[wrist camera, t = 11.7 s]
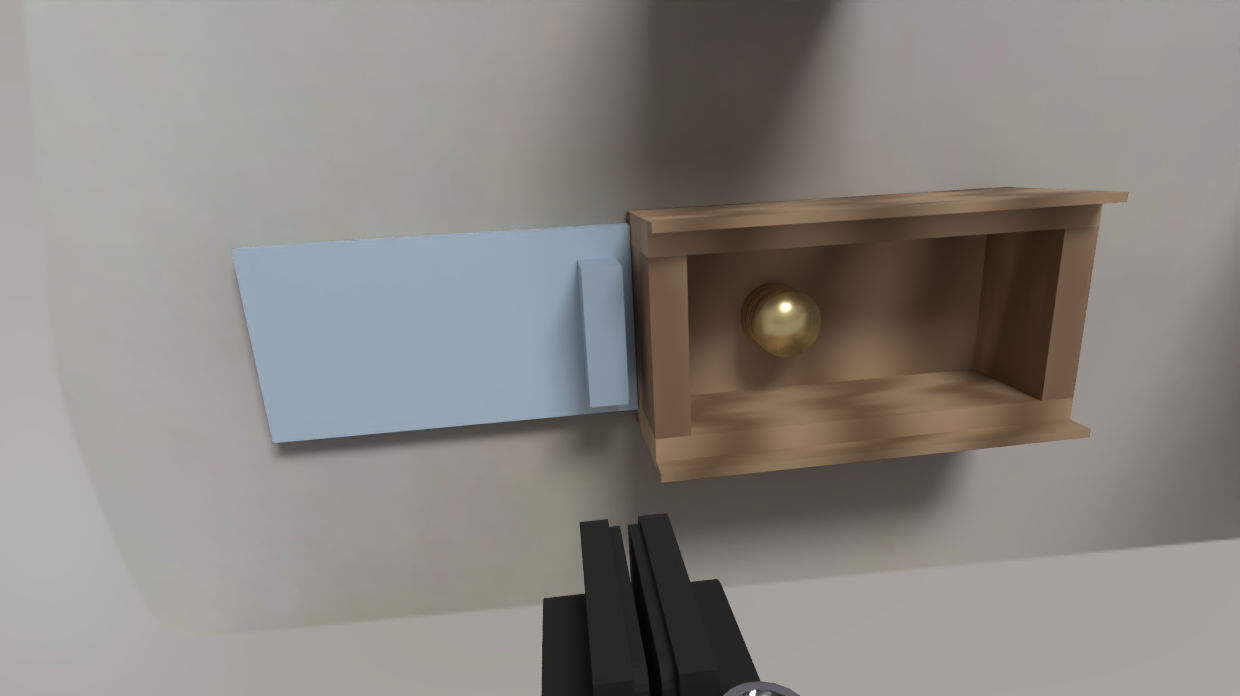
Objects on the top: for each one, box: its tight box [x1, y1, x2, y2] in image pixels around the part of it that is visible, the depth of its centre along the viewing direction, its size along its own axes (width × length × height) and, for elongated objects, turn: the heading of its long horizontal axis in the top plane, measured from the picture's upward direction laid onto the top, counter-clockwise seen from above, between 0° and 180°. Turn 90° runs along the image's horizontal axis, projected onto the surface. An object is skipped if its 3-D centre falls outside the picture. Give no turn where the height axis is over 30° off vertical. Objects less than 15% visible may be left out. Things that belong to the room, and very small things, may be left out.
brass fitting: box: [741, 283, 821, 357], centre depth 32 cm, size 3×3×2 cm
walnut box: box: [627, 187, 1129, 483], centre depth 31 cm, size 20×11×7 cm, turn 93°
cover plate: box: [231, 223, 638, 443], centre depth 30 cm, size 18×9×5 cm, turn 93°
